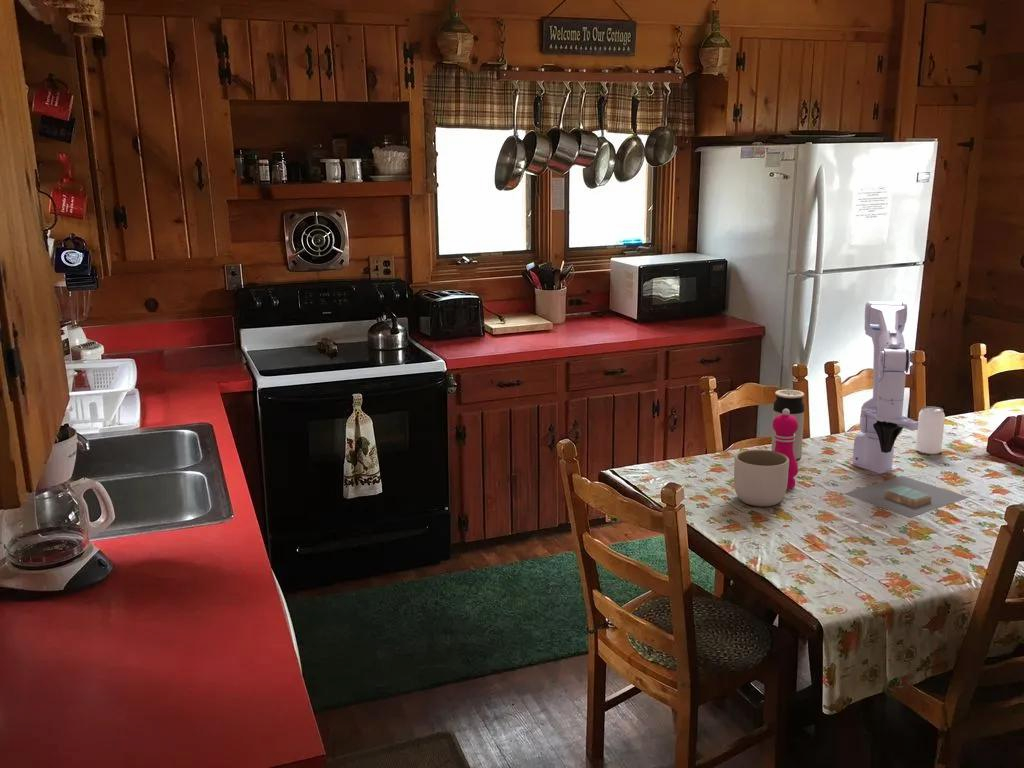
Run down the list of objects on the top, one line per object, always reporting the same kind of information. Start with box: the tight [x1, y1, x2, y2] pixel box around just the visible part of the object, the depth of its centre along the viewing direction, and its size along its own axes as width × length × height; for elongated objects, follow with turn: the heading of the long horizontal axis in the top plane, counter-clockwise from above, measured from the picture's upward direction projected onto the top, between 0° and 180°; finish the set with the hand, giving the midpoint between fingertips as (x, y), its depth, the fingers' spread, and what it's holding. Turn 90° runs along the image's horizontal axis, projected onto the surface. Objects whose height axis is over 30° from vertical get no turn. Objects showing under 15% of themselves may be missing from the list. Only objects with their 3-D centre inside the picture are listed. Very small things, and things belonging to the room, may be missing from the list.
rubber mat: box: [843, 475, 970, 519], centre depth 212 cm, size 18×22×1 cm
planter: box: [733, 448, 789, 508], centre depth 211 cm, size 12×12×11 cm
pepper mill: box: [772, 409, 799, 489], centre depth 219 cm, size 7×7×20 cm
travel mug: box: [770, 389, 805, 460], centre depth 240 cm, size 8×8×18 cm
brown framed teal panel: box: [885, 486, 931, 508], centre depth 209 cm, size 2×6×8 cm
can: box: [915, 406, 946, 455], centre depth 243 cm, size 6×6×12 cm
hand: (886, 451), depth 216 cm, fingers closed
